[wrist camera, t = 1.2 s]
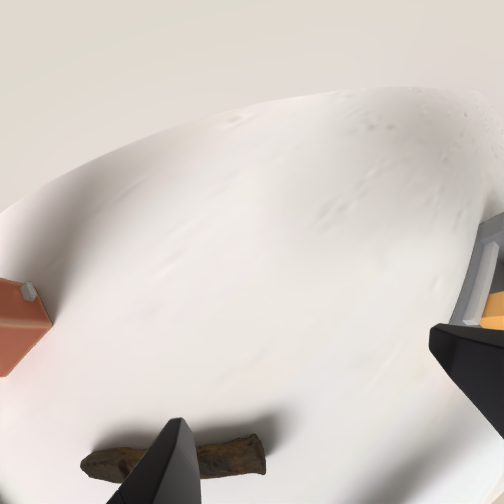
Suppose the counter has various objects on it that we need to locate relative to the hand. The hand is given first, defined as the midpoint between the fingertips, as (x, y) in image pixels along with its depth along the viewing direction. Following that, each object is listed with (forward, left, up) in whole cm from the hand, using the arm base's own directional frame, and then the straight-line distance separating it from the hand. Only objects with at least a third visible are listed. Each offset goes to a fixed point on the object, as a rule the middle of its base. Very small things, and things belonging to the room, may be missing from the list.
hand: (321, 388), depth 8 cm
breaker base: (-3, -28, -16) cm, 33 cm away
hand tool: (-11, +12, -17) cm, 23 cm away
